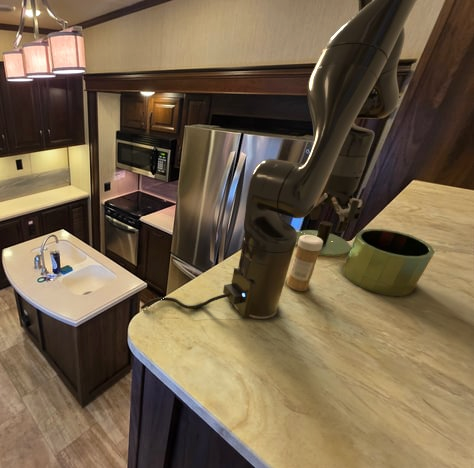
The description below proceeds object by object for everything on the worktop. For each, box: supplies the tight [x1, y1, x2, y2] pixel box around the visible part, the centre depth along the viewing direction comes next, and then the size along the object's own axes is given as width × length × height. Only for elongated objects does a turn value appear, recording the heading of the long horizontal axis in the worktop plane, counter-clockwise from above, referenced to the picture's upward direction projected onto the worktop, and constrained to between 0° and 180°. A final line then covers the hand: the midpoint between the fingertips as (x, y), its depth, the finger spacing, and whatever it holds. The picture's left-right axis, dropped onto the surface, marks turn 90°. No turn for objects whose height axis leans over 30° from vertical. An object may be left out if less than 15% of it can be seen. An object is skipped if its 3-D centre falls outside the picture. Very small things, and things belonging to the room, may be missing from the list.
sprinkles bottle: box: [286, 235, 323, 292], centre depth 68 cm, size 5×5×13 cm
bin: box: [342, 228, 436, 297], centre depth 69 cm, size 13×13×10 cm
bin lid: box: [295, 220, 351, 257], centre depth 85 cm, size 14×14×7 cm
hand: (326, 225), depth 83 cm, fingers open, 8 cm apart
